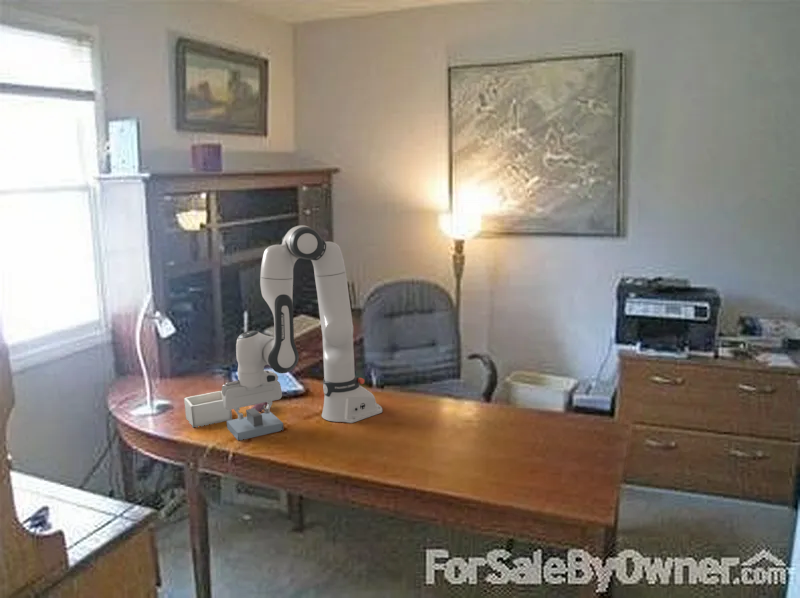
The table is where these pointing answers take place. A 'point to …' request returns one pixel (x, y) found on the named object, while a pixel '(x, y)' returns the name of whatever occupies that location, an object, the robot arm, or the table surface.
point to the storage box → (206, 409)
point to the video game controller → (260, 406)
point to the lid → (254, 425)
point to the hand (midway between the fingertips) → (254, 416)
